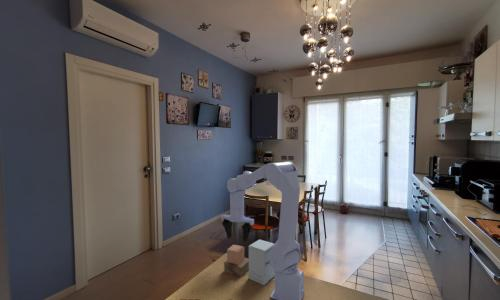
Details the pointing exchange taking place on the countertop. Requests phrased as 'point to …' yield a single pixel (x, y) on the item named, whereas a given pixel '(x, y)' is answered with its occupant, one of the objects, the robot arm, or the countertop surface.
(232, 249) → the terracotta cube
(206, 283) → the countertop surface
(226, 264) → the walnut slab
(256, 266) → the supplement box
